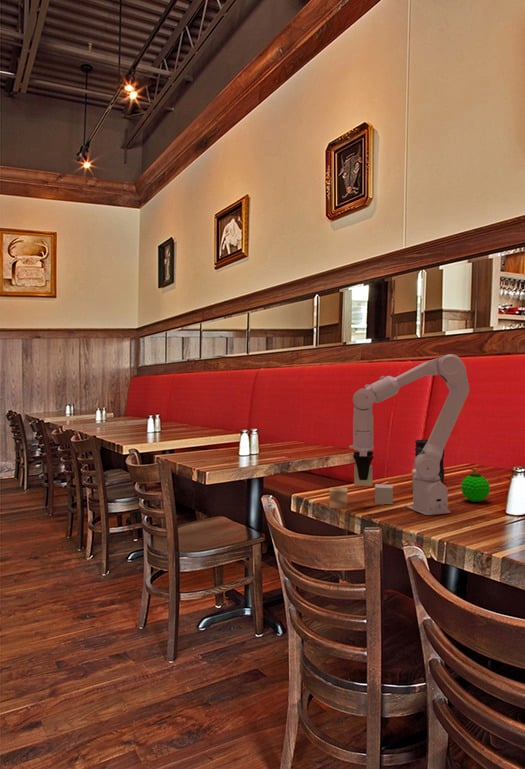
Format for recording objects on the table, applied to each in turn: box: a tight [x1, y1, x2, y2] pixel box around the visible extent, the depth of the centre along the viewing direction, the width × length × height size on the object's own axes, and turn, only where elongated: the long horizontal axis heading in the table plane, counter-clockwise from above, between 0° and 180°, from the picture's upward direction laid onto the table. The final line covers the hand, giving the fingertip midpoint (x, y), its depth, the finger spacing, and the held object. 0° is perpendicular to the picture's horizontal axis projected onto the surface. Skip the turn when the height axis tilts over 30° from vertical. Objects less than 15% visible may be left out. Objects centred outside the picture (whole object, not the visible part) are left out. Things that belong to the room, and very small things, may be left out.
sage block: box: [353, 464, 373, 487], centre depth 156 cm, size 5×5×5 cm
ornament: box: [460, 467, 491, 503], centre depth 162 cm, size 8×8×10 cm
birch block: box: [328, 487, 349, 510], centre depth 157 cm, size 5×5×5 cm
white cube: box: [374, 483, 394, 505], centre depth 162 cm, size 5×5×5 cm
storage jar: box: [414, 439, 445, 485], centre depth 190 cm, size 10×10×15 cm
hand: (363, 478), depth 156 cm, fingers closed on sage block, 5 cm apart
